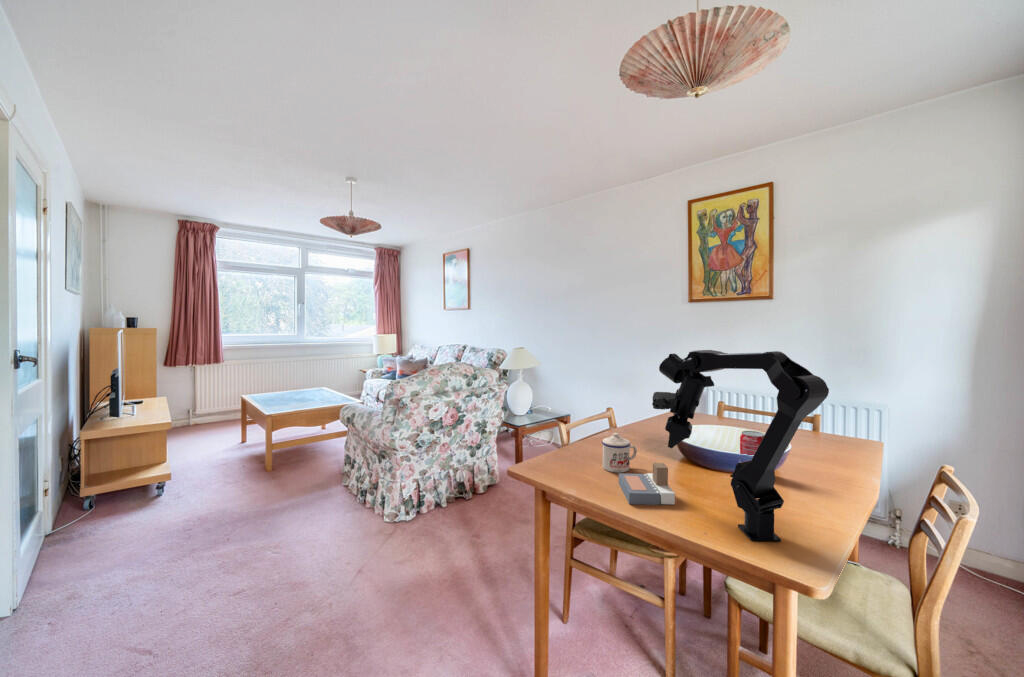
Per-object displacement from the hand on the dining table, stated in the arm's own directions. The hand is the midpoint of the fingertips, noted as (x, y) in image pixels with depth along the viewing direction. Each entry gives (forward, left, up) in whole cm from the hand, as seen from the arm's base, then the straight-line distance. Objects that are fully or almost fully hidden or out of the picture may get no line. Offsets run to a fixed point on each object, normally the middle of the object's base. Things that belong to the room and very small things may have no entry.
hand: (671, 438), depth 116 cm
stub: (-2, +4, -15) cm, 16 cm away
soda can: (+15, -30, -15) cm, 37 cm away
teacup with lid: (+18, +11, -15) cm, 26 cm away
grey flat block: (-2, +10, -15) cm, 18 cm away
